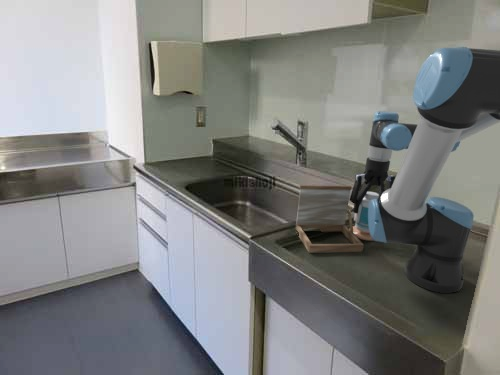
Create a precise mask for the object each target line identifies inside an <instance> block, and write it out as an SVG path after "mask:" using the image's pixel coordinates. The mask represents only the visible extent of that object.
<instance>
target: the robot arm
mask: <svg viewBox="0 0 500 375" xmlns="http://www.w3.org/2000/svg"><path fill="white" fill-rule="evenodd" d="M414 84H415V86H414V87H413V93H412V96H413V97H412V98H413V103H414V105H415V106H416V112H417V114H418V115H419V117H420V118H419V120H418V123H417V124H414V123H403V122H399V114H398V113H397V112H393V111H385V110H384V111H381V110H380V111H379V110H378V111H376V112H375V113H374V116H373V119H372V126H371V131H370V138H369V145H368V149H367V155H366V156H367V157H366V161H365V166H364V168H365V170H364V171H363V173H361V174H358V173H356V174H354V178H355V179H354V183H353V187H352V189H351V190H352V191H351V192H350V196H349V201H350V202H351V203H352V204H353V209H352V210H353V213H354V217H353V221H354V222H355V223H356V222H357V223H359V220H360V215H361V209H362V205H361V202H362V200H363V198H364V197H365V195H366V193H367V192H369V189H371V188H372V187H373V186H376V187H377V190H378V192H377V193H378V194H379V198H378V199H372V200H371V201H370V203H369V208H368V225H369V232H370V235H371V237H372V239H374V240H375V242H379V243H380V242H381V243H385V244H399V245H400V244H401V245H410V246H411V245H413V246H416V249H415V250H414V251H413V253H412V255H411V256H410V258H409V259H408V260H407V261H406V263H405V267H404V273H405V276H406V278H408V279H409V280H410V281H411V282H412V283H414V284H416V285H417V286H419V287H421V288H423V289H425V290H428V291H432V292H435V293H439V292H440V294H452V293H451V292H456V291H458V292H460V291H461V290H462V289H463V286H464V280H465V279H464V269H463V258H464V254H465V251H466V247H467V243H468V241H469V237H470V233H471V232H472V231H471V230H472V229H473V223H474V217H475V216H474V212H473V211H472V210H471V209H470V208H468V207H467V206H465V205H464V204H461V203H459V202H457V201H454V200H451V199H448V198H445V197H440V196H432V197H431V196H430V197H428V196H429V194H430V192H431V191H432V189H433V187H434V184H436V181H437V180H438V178H439V175H440V174H441V172H442V170H443V168H444V166H445V164H446V162H447V161H448V159H449V156H450V154H451V153H453V152H455V151H456V150H457V148H458V147H459V146H460V143H461V141H463V140H465V139H467V138H470V137H471V136H473V135H476V134H478V133H479V132H481V131H484V130H486V129H489V128H490V127H493V126H495V125H497V124H499V123H500V49H499V50H497V49H484V48H470V47H469V48H468V47H466V46H458V47H442V48H439V49H437V50H435V51H434V52H432V53H430V55H429V56H428V57H427V58H426V59H425V60H424V61H423V64H422V65H421V67H420V69H419V70H418V73H417V76H416V78H415V81H414ZM403 150H406V152H405V154H404V156H403V159H402V162H401V164H400V166H399V169H398V171H397V173H396V175H395V176H394V175H392V174H388V171H389V169H390V165H391V161H390V160H391V159H392V155H393V151H396V152H398V151H399V152H400V151H403ZM363 181H364V182H363ZM385 181H386V183H384V182H385ZM385 184H386V185H385ZM385 187H386V188H385ZM427 198H428V199H427ZM461 288H462V289H461ZM460 289H461V290H460ZM459 290H460V291H459ZM456 293H457V292H456Z"/></svg>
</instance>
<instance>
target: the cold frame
mask: <svg viewBox="0 0 500 375" xmlns="http://www.w3.org/2000/svg"><path fill="white" fill-rule="evenodd" d="M352 189H353V187H352V185H324V184H323V185H317V184H316V185H315V184H312V185H311V184H308V185H307V184H304V185H303V184H301V185H299V195H298V196H299V197H298V206H297V213H296V214H297V215H296V222H295V229H296V230H297V231H298V232H299V236H298V238H299V240H300V241H301V243H302V244H303V246H304V247H305V248H306V251H307V252H308V254H314V253H315V254H317V253H318V254H319V253H326V254H327V253H362V252H363V250H364V246H365V245H364V243H363V242H362V241H361V239H359V238H357V237H356V236H355V235H354V232H353V226H354V225H353V218H352V212H351V209H348V207H349V201H350V196H351V190H352ZM347 216H348V222H349V224H348V225H349V227H347V225H346V221H347ZM308 228H317V229H320V231H321V232H324V233H326V232H328V233H329V232H341V233H343V235H344V236H345V237H346V238H347V239H348V240H349V242H350V243H312V242H311V240H310V239H309V237H308V236H307V234H306V233H305V232H304V231H303V230H302V229H308ZM349 229H350V230H349Z"/></svg>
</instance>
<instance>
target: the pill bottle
mask: <svg viewBox="0 0 500 375" xmlns="http://www.w3.org/2000/svg"><path fill="white" fill-rule="evenodd" d="M372 199H380V196H379V193H378V192H374V191H367V193H366V195H365V197H364V198H363V200H362V202H361V205H362V209H361V215H360V220H359V223H357V222H356V221H355V225H354V226H355V227H356V228H357V229H358V230H359V231H362V232H366V233H370V232H369V225H368V208H369V203H370V201H371V200H372Z"/></svg>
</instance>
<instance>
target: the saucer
mask: <svg viewBox="0 0 500 375" xmlns="http://www.w3.org/2000/svg"><path fill="white" fill-rule="evenodd" d="M348 229H349V230H350V228H348ZM353 232H354V235H355V236H356V237H357V238H358V239H359V240H363V241H370V242H373V241H375V240H374V239H372V237H371V235H370V233H366V232H362V231H359V230H358V229H357V228H356V227H355V225H353ZM375 242H376V241H375Z"/></svg>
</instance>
